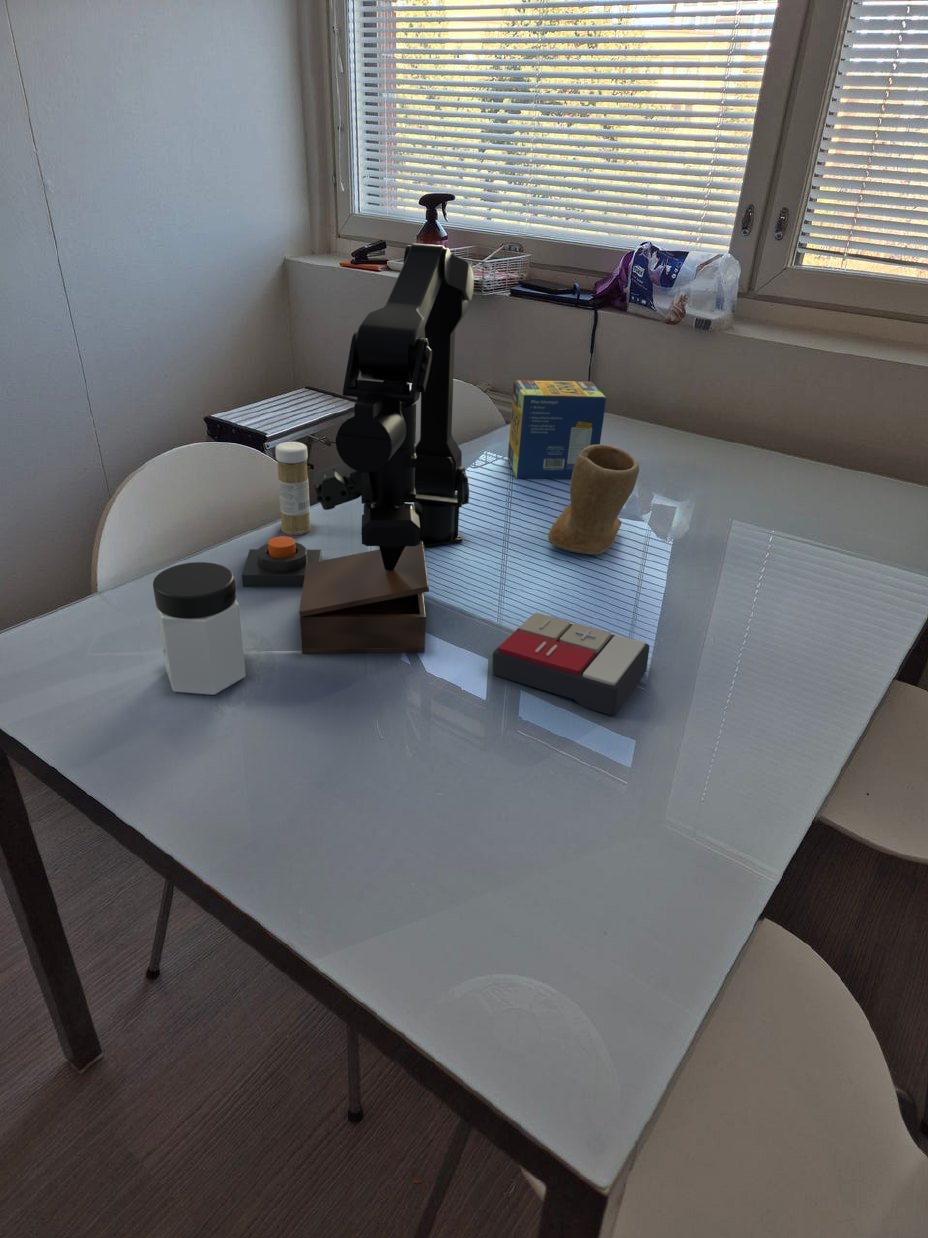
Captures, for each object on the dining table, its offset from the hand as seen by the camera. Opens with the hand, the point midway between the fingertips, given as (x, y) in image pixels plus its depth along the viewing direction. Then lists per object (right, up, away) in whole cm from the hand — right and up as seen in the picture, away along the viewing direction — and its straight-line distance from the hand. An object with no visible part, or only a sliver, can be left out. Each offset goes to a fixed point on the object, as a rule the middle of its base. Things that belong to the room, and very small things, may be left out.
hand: (389, 568), depth 98 cm
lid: (-3, -1, 0) cm, 3 cm away
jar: (-20, -12, -7) cm, 24 cm away
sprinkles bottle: (-17, +7, +28) cm, 33 cm away
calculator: (+21, -12, -3) cm, 25 cm away
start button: (-16, +3, +13) cm, 21 cm away
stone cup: (+29, +6, +30) cm, 42 cm away
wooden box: (-3, -7, +4) cm, 9 cm away
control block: (-16, 0, +15) cm, 22 cm away
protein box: (+25, +22, +57) cm, 67 cm away
